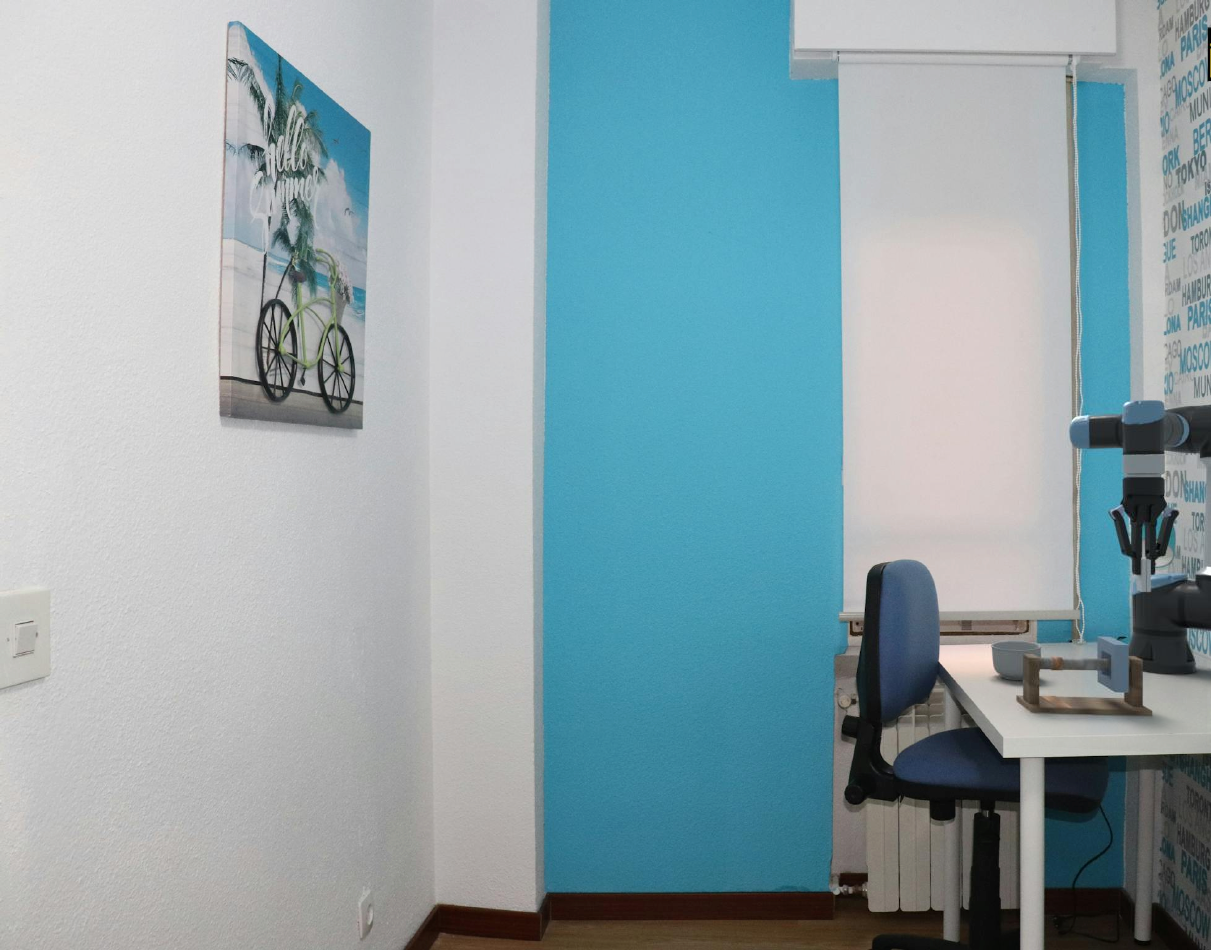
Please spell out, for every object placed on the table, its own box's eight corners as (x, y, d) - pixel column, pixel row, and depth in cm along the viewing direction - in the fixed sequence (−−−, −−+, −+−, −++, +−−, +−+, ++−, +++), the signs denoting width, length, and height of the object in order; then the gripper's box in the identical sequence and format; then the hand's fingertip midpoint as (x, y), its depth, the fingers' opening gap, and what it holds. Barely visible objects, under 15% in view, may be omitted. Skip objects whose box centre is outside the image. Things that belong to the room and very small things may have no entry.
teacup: (1046, 684, 214) (1046, 649, 213) (996, 682, 216) (996, 647, 216) (1031, 671, 227) (1031, 638, 227) (984, 669, 229) (984, 636, 229)
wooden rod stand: (1130, 703, 196) (1130, 653, 196) (1152, 715, 186) (1152, 663, 186) (1016, 700, 199) (1016, 651, 199) (1031, 712, 189) (1031, 660, 189)
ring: (1110, 682, 196) (1110, 636, 196) (1128, 692, 187) (1128, 645, 187) (1097, 681, 196) (1097, 636, 196) (1115, 692, 187) (1115, 644, 187)
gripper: (1169, 475, 193) (1169, 589, 193) (1102, 476, 195) (1102, 588, 195) (1186, 476, 186) (1186, 593, 186) (1116, 476, 188) (1116, 593, 188)
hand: (1143, 590), depth 191 cm, fingers closed
